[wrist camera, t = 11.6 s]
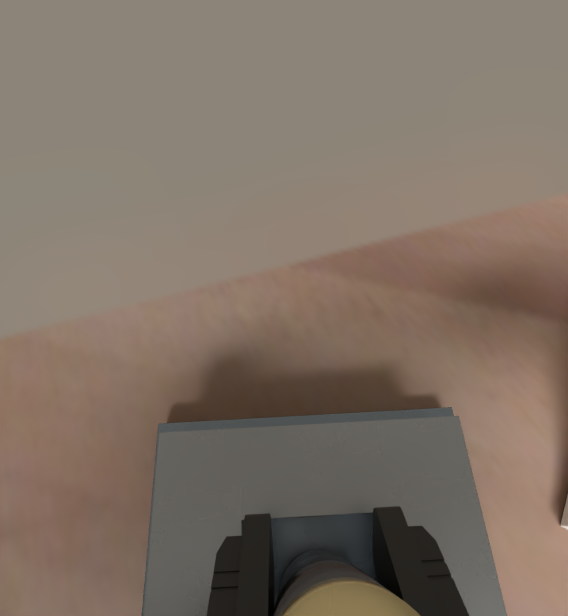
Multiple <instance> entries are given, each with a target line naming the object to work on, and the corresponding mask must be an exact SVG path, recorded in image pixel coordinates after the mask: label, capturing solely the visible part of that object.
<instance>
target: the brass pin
mask: <svg viewBox="0 0 568 616" xmlns="http://www.w3.org/2000/svg"><path fill="white" fill-rule="evenodd" d="M273 616H420V615H419V614H418V613H417V612H416V611H415V610H414V609H413V608H412V607H411V606H409V605H408V604H407V603H406V602H404V601H403V600H402V599H400V598H399V597H397V596H396V595H395V594H393V593H392V592H390V591H389V590H388V589H386V588H385V587H383V586H382V585H381V584H379V583H378V582H376V581H375V580H374V579H372V578H371V577H370V576H368V575H367V574H365V573H364V572H363V571H361V570H360V569H358V568H357V567H356V566H354V565H353V564H351V563H350V562H349V561H347V560H346V559H344V558H343V557H342V556H340V555H338V554H336V553H334V552H332V551H328V550H319V549H317V550H311V551H308V552H305V553H303V554H301V555H300V556H298V557H297V558H296V559H295V560H294V561H293V562H292V563H291V564H290V565H289V566H288V568H287V569H286V571H285V573H284V575H283V577H282V580H281V583H280V588H279V592H278V596H277V600H276V604H275V608H274V613H273Z"/></svg>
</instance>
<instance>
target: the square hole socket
mask: <svg viewBox="0 0 568 616" xmlns="http://www.w3.org/2000/svg"><path fill="white" fill-rule="evenodd" d="M394 506H400V507H401V509H402V511H403V514H404V516H405V519H406V522H407V524H408V526H423V527H424V528H425V529H426V530H427V531H428V533H429V534H430V535H431V536H432V537H433V538H434V539H435V540H436V541H437V544H438V546H439V548H440V550H441V553H442V555H443V557H444V561H445V563H446V564H447V566H448V568H449V571H450V573H451V577H452V578H453V580H454V582H455V584H456V587H457V589H458V591H459V593H460V596H461V598H462V600H463V602H464V605H465V607H466V609H467V611H468V614H469V616H507V614H506V609H505V605H504V601H503V597H502V593H501V589H500V585H499V581H498V576H497V572H496V568H495V564H494V560H493V556H492V552H491V548H490V544H489V539H488V535H487V531H486V527H485V523H484V519H483V515H482V511H481V506H480V502H479V498H478V494H477V490H476V486H475V482H474V478H473V473H472V469H471V465H470V461H469V457H468V453H467V449H466V445H465V441H464V436H463V432H462V428H461V424H460V420H459V416H454V415H453V411H452V407H448V408H430V409H412V410H394V411H376V412H359V413H341V414H323V415H305V416H287V417H269V418H251V419H233V420H215V421H198V422H180V423H162V424H158V436H157V447H156V458H155V470H154V481H153V493H152V504H151V515H150V527H149V538H148V550H147V561H146V572H145V584H144V595H143V607H142V616H207V610H208V603H209V597H210V592H211V584H212V578H213V574H214V565H215V559H216V553H217V551H218V550H219V548H220V546H221V545H222V543H223V541H224V540H225V538H226V536H243V528H244V518H245V515H249V514H266V513H270V515H271V527H272V540H273V553H274V608H275V604H276V600H277V596H278V592H279V588H280V583H281V580H282V577H283V575H284V573H285V571H286V569H287V568H288V566H289V565H290V564H291V563H292V562H293V561H294V560H295V559H296V558H297V557H298V556H300V555H301V554H303V553H305V552H308V551H311V550H317V549H319V550H328V551H332V552H334V553H336V554H338V555H340V556H342V557H343V558H344V559H346V560H347V561H349V562H350V563H351V564H353V565H354V566H356V567H357V568H358V569H360V570H361V571H363V572H364V573H365V574H367V575H368V576H370V577H371V578H372V579H374V580H375V581H376V582H378V581H377V577H376V573H375V568H374V561H373V551H372V540H373V509H374V508H376V507H394Z"/></svg>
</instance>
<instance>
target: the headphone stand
mask: <svg viewBox="0 0 568 616" xmlns="http://www.w3.org/2000/svg"><path fill="white" fill-rule="evenodd" d="M560 526H562V527H564V528H566V529H567V530H568V494H567V499H566V503H565V507H564V512H563V516H562V520H561V525H560Z"/></svg>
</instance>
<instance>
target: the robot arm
mask: <svg viewBox="0 0 568 616" xmlns="http://www.w3.org/2000/svg"><path fill="white" fill-rule="evenodd" d="M372 551H373V561H374V568H375V573H376V577H377V581H378V583H379V584H381V585H382V586H383V587H385V588H386V589H388V590H389V591H390V592H392V593H393V594H395V595H396V596H397V597H399V598H400V599H402V600H403V601H404V602H406V603H407V604H408V605H409V606H411V607H412V608H413V609H414V610H415V611H416V612H417V613H418V614H419V615H420V616H469V614H468V611H467V609H466V607H465V605H464V602H463V600H462V598H461V596H460V593H459V591H458V589H457V587H456V584H455V582H454V580H453V578H452V577H451V573H450V571H449V568H448V566H447V564H446V563H445V561H444V557H443V555H442V553H441V550H440V548H439V546H438V544H437V541H436V540H435V539H434V538H433V537H432V536H431V535H430V534H429V533H428V531H427V530H426V529H425V528H424V527H423V526H408V524H407V522H406V519H405V516H404V514H403V511H402V509H401V507H400V506H394V507H376V508H374V509H373V540H372ZM273 613H274V553H273V540H272V527H271V515H270V513H266V514H249V515H245V518H244V528H243V536H226V538H225V540H224V541H223V543H222V545H221V546H220V548H219V550H218V551H217V553H216V559H215V565H214V574H213V578H212V584H211V592H210V597H209V603H208V610H207V616H273Z"/></svg>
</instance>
